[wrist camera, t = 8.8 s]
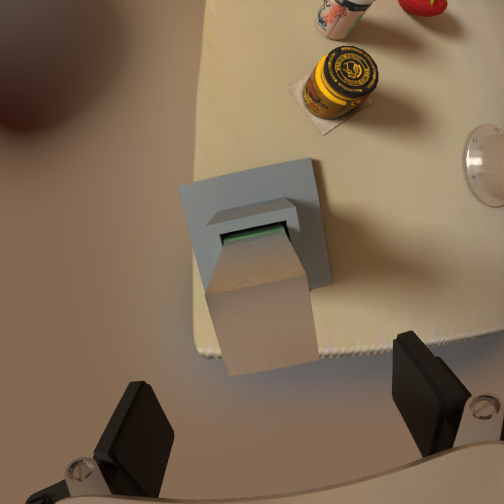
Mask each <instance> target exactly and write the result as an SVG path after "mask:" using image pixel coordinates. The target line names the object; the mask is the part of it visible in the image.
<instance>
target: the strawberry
mask: <svg viewBox="0 0 504 504" xmlns="http://www.w3.org/2000/svg"><path fill="white" fill-rule="evenodd" d="M398 2H399V4H400V6H401V7H402V8H403V10H404V11H405V12H407V13H411V14H414V15H418V16H424V17H430V16H435V15H439V14H441V13H443V12H444V10H445V9H446V7H447V0H398Z"/></svg>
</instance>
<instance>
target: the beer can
mask: <svg viewBox="0 0 504 504" xmlns="http://www.w3.org/2000/svg"><path fill="white" fill-rule="evenodd" d="M374 1H375V0H324V1H323V4H322V6H321V8H320V10H319V13H318V15H317V17H316V27H317V29H318V30H319V31H320V33H321V34H323V35H324V36H326V37H328V38H330V39H335V40H339V39H344V38H346V37H347V36H348V35H349V34H350V32H351V31H352V29H353V28H354V27H355V25H356V24H357V23H358V21H359V20H360V19H361V17H362V16H363V15H364V13H365V12H366V11H367V10H368V8H369V7H370V6H371V4H372V3H373V2H374Z"/></svg>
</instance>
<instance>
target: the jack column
mask: <svg viewBox="0 0 504 504" xmlns="http://www.w3.org/2000/svg"><path fill="white" fill-rule="evenodd" d="M205 298H206V302H207V305H208V309H209V312H210V315H211V319H212V322H213V325H214V329H215V332H216V335H217V339H218V342H219V345H220V348H221V352H222V355H223V358H224V361H225V364H226V367H227V370H228V374H229V376H235V375H242V374H248V373H254V372H260V371H266V370H271V369H277V368H282V367H287V366H292V365H297V364H301V363H306V362H311V361H315V360H319V352H318V345H317V338H316V332H315V325H314V318H313V312H312V306H311V300H310V293H309V287H308V281H307V276H306V273H305V271H304V269H303V267H302V265H301V263H300V261H299V259H298V257H297V255H296V253H295V251H294V249H293V247H292V245H291V243H290V241H289V239H288V237H287V235H286V233H285V229H284V226H283V225H282V226H281V224H280V222H275V223H270V224H265V225H260V226H256V227H251V228H246V229H242V230H237V231H232V232H228V235H227V237H226V238H224V245H223V248H222V251H221V253H220V256H219V258H218V261H217V264H216V266H215V269H214V272H213V274H212V277H211V280H210V282H209V285H208V288H207V290H206V293H205Z"/></svg>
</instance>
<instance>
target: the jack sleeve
mask: <svg viewBox="0 0 504 504" xmlns="http://www.w3.org/2000/svg"><path fill="white" fill-rule="evenodd" d="M178 189H179V194H180V198H181V202H182V206H183V210H184V214H185V218H186V222H187V226H188V230H189V234H190V238H191V242H192V246H193V249H194V253H195V257H196V261H197V264H198V268H199V272H200V275H201V279H202V283H203V286H204V290H205V293H206V290H207V288H208V285H209V282H210V280H211V277H212V274H213V272H214V269H215V266H216V264H217V261H218V258H219V256H220V253H221V251H222V248H223V245H224V238H226V237H227V235H228V232H232V231H237V230H242V229H246V228H251V227H256V226H260V225H265V224H270V223H275V222H280V224H281V226H282V225H283V226H284V229H285V233H286V235H287V237H288V239H289V241H290V243H291V245H292V247H293V249H294V251H295V253H296V255H297V257H298V259H299V261H300V263H301V265H302V267H303V269H304V271H305V273H306V276H307V281H308V287H309V292H310V291H311V289H314V288H318V287H323V286H327V285H332V277H331V270H330V263H329V257H328V250H327V244H326V238H325V232H324V226H323V220H322V214H321V208H320V203H319V198H318V192H317V187H316V182H315V177H314V172H313V167H312V162H311V158H305V159H300V160H294V161H289V162H284V163H279V164H274V165H269V166H264V167H259V168H254V169H250V170H245V171H240V172H236V173H231V174H227V175H223V176H218V177H214V178H210V179H206V180H202V181H198V182H194V183H190V184H186V185H182V186H179V187H178Z"/></svg>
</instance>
